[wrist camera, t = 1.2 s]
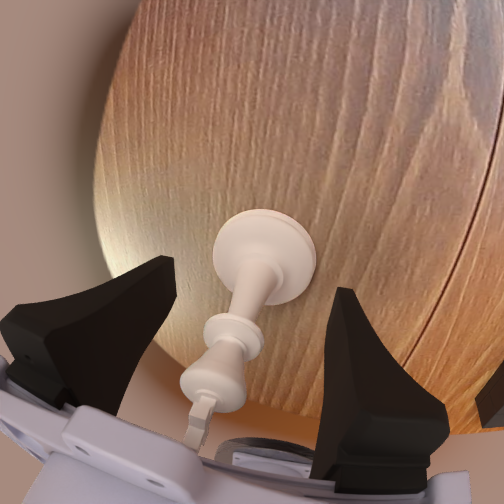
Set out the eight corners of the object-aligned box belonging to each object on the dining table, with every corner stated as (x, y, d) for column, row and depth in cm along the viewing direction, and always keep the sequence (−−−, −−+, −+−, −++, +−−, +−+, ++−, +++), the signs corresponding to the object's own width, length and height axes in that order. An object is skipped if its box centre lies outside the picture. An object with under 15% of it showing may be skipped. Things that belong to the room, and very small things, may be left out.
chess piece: (211, 284, 17) (121, 449, 8) (220, 198, 14) (83, 362, 6) (302, 308, 16) (265, 496, 8) (328, 222, 14) (310, 436, 5)
